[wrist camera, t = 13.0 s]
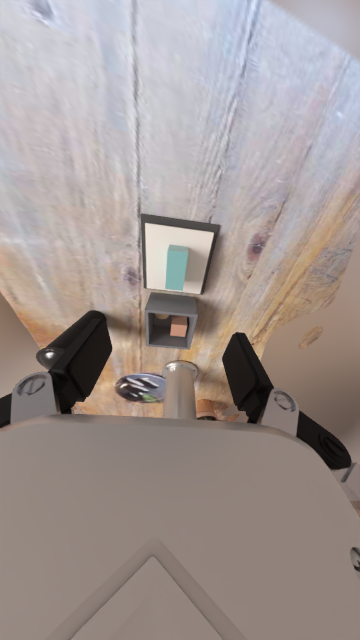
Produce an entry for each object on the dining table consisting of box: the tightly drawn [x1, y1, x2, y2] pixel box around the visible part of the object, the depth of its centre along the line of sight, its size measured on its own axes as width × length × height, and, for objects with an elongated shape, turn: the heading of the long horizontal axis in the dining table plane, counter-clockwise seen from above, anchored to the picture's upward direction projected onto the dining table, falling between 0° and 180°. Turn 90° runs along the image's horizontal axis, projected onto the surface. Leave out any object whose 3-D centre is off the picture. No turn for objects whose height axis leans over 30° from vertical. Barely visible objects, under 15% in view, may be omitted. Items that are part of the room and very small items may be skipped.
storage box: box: [145, 292, 198, 350], centre depth 32 cm, size 10×10×7 cm
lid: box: [145, 223, 214, 294], centre depth 25 cm, size 11×11×6 cm
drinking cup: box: [36, 311, 106, 370], centre depth 28 cm, size 8×8×20 cm
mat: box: [141, 214, 219, 295], centre depth 27 cm, size 13×13×1 cm
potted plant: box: [196, 400, 217, 421], centre depth 56 cm, size 10×10×25 cm
